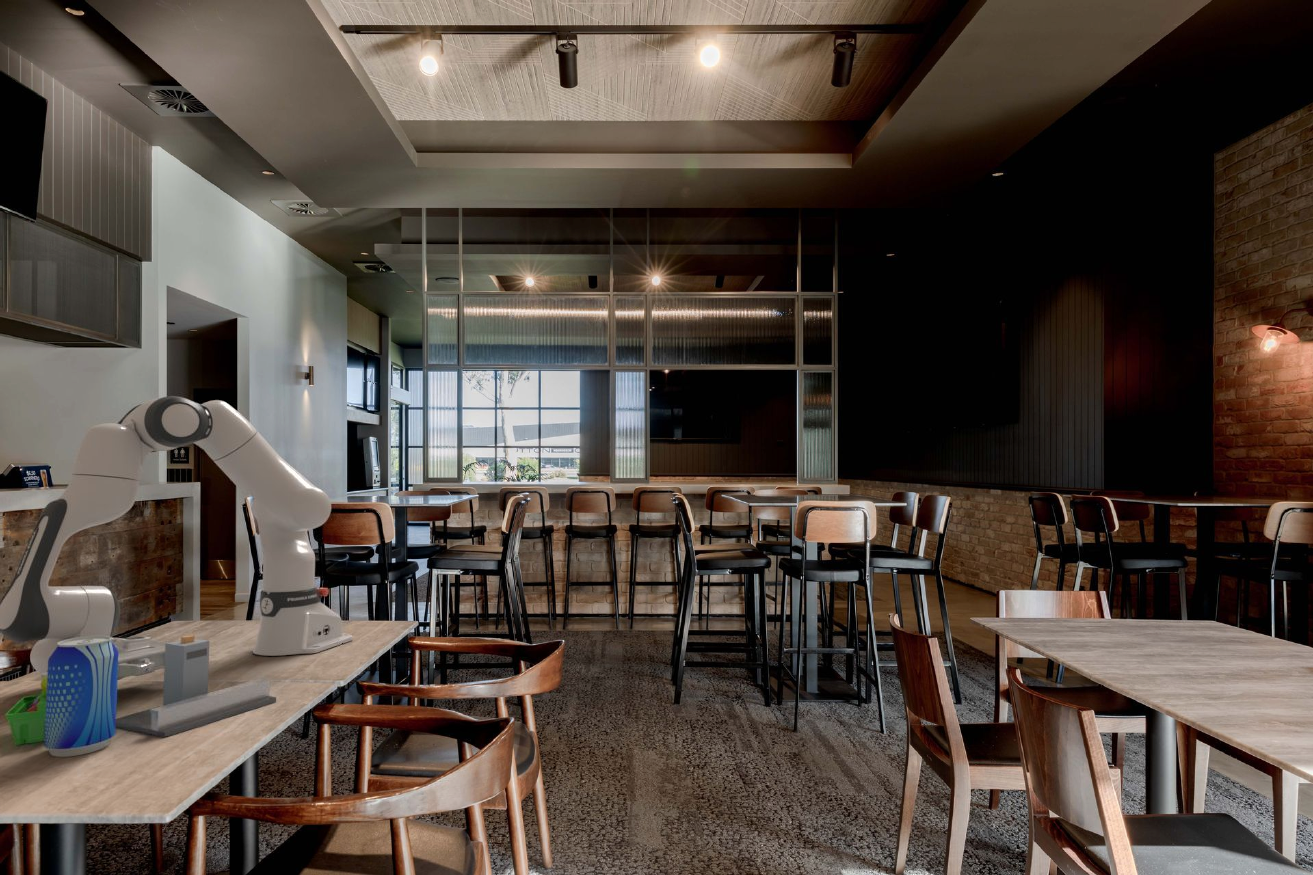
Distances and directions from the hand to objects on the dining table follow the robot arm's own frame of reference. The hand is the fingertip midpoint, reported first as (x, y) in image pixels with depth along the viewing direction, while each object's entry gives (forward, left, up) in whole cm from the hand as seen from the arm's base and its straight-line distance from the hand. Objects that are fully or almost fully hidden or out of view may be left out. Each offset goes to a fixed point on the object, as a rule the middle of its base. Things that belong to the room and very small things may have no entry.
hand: (146, 669), depth 133 cm
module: (0, +11, -5) cm, 12 cm away
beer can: (+18, +14, -6) cm, 24 cm away
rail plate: (0, +14, -6) cm, 15 cm away
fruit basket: (+16, +2, -6) cm, 17 cm away
